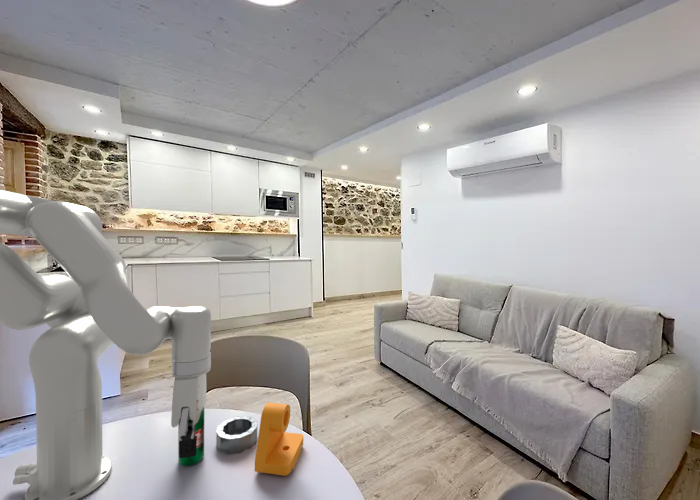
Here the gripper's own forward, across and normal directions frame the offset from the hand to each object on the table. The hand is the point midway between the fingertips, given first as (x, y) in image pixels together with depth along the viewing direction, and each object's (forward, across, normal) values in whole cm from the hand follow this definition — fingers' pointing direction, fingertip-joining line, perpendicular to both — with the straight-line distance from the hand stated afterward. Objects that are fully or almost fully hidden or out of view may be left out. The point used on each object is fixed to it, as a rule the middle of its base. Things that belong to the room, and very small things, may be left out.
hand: (191, 446), depth 68 cm
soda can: (+3, 0, 0) cm, 3 cm away
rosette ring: (+3, -4, +9) cm, 10 cm away
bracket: (+3, +4, +19) cm, 20 cm away
